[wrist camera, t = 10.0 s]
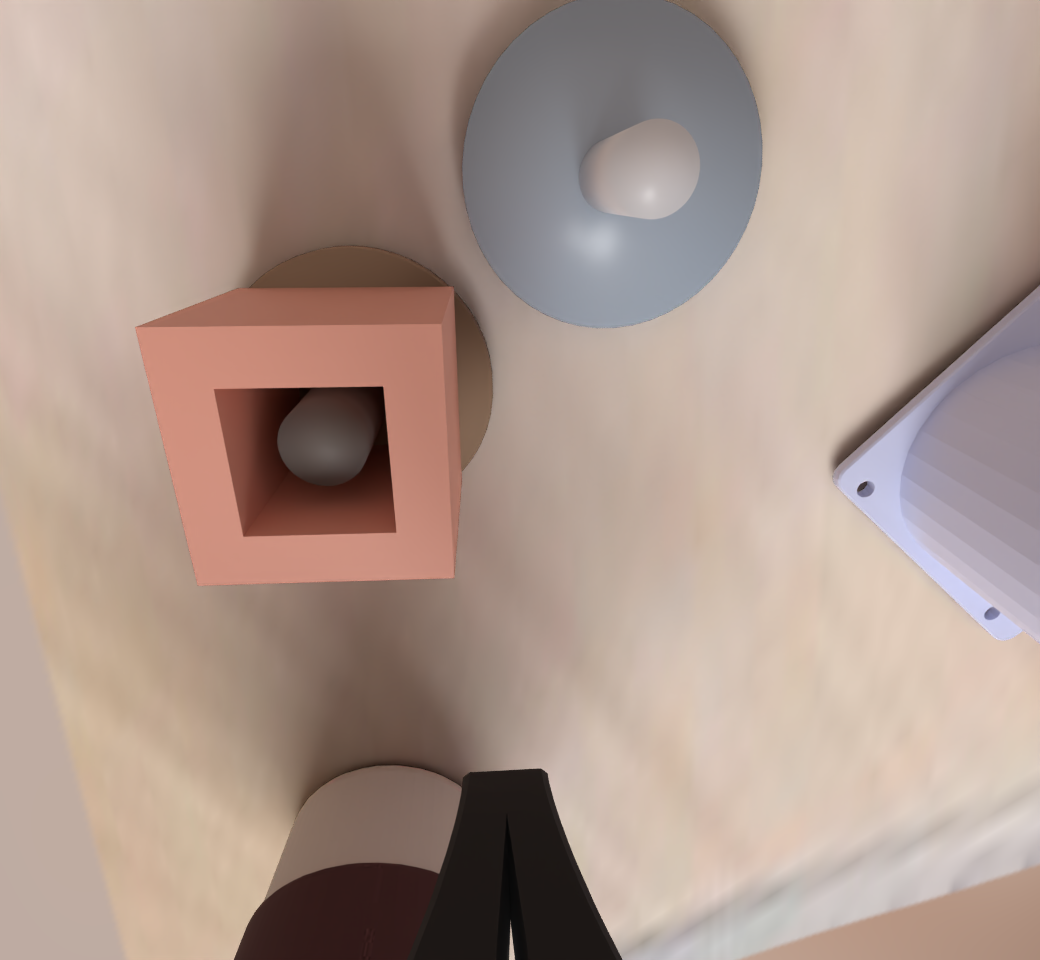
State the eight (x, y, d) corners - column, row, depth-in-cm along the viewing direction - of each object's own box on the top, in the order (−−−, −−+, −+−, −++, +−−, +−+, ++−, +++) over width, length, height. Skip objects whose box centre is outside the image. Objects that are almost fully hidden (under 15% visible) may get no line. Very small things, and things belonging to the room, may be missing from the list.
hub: (544, 368, 18) (565, 425, 13) (391, 541, 19) (363, 642, 15) (328, 182, 15) (266, 176, 11) (179, 397, 17) (76, 466, 13)
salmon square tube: (453, 286, 16) (441, 323, 11) (461, 480, 18) (454, 577, 13) (237, 288, 16) (135, 327, 11) (271, 484, 18) (197, 585, 13)
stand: (807, 161, 16) (932, 149, 11) (609, 375, 18) (651, 435, 13) (603, -80, 14) (661, -210, 9) (404, 192, 16) (373, 191, 11)
